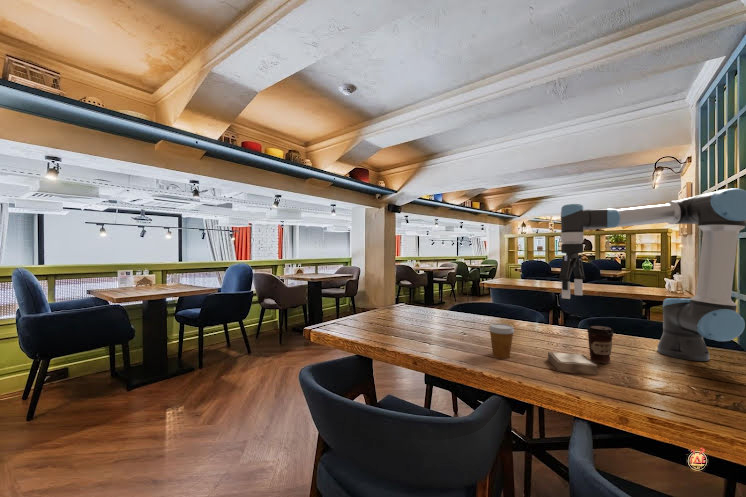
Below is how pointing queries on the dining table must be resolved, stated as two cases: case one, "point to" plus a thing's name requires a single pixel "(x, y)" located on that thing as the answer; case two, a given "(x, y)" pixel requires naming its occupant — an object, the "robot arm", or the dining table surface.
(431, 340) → the dining table surface
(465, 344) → the dining table surface
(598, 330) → the coffee cup
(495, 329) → the disposable coffee cup
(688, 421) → the dining table surface
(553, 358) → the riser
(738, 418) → the dining table surface
